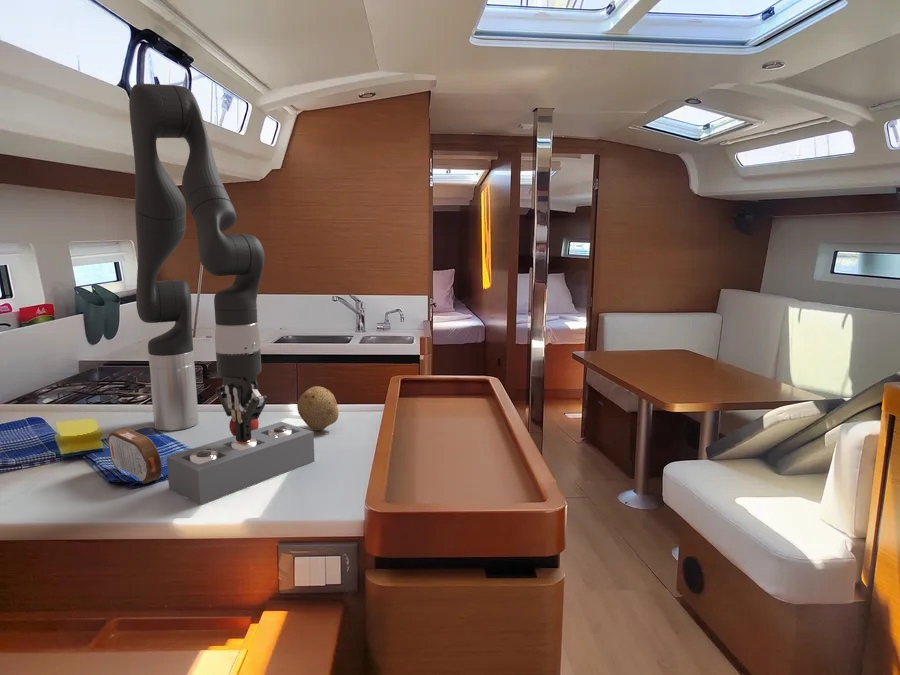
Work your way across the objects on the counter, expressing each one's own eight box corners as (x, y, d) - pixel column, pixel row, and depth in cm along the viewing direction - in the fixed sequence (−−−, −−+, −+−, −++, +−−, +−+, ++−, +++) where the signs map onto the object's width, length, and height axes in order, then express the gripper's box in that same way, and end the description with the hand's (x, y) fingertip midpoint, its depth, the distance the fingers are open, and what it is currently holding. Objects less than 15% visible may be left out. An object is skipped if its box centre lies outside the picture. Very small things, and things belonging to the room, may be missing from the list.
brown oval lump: (297, 424, 139) (295, 382, 137) (336, 421, 142) (335, 380, 140) (299, 437, 131) (297, 393, 129) (340, 433, 133) (339, 390, 131)
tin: (165, 484, 107) (161, 439, 105) (147, 490, 104) (143, 444, 103) (124, 464, 116) (120, 422, 114) (107, 469, 113) (102, 427, 112)
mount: (169, 489, 105) (166, 456, 104) (282, 449, 124) (281, 421, 122) (200, 505, 99) (198, 470, 98) (314, 460, 118) (313, 431, 117)
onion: (250, 447, 125) (248, 410, 123) (225, 445, 126) (222, 408, 124) (264, 438, 130) (262, 402, 129) (240, 436, 131) (237, 401, 130)
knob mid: (227, 463, 110) (226, 441, 110) (248, 456, 114) (247, 434, 113) (241, 469, 108) (240, 446, 107) (262, 461, 111) (261, 439, 110)
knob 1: (186, 477, 104) (184, 453, 103) (209, 469, 108) (208, 446, 107) (200, 483, 101) (198, 459, 101) (223, 475, 105) (222, 452, 104)
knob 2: (264, 450, 117) (263, 429, 116) (283, 444, 120) (282, 423, 119) (278, 456, 114) (277, 434, 113) (297, 449, 117) (296, 428, 117)
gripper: (198, 346, 108) (204, 438, 111) (241, 356, 100) (247, 455, 103) (235, 340, 114) (240, 428, 117) (278, 349, 106) (283, 443, 109)
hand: (243, 440), depth 110 cm, fingers closed
